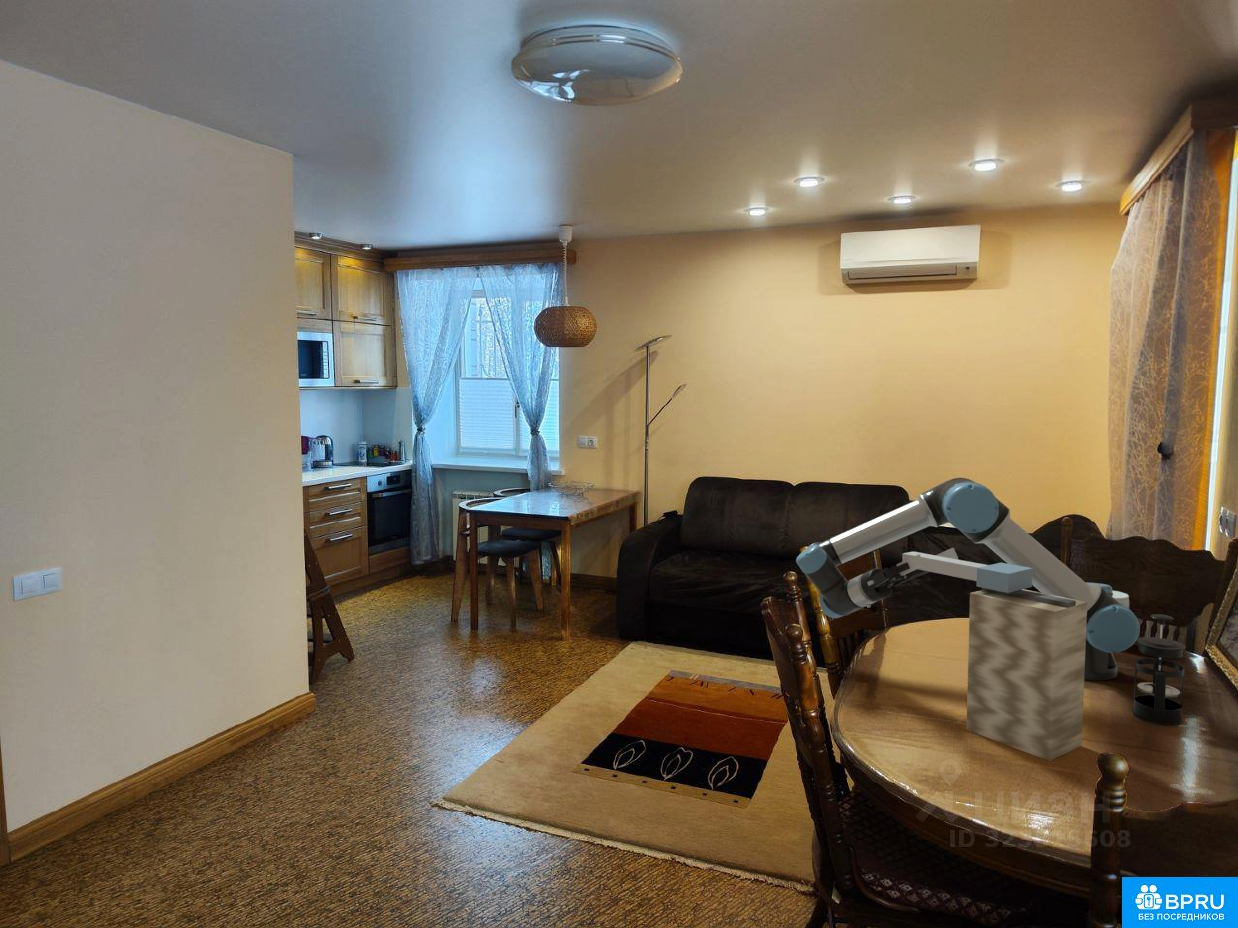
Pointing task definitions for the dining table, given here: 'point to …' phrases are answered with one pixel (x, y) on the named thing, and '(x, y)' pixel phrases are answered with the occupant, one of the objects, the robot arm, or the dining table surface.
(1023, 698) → the patterned tall box
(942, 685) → the dining table surface
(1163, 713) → the french press
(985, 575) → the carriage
